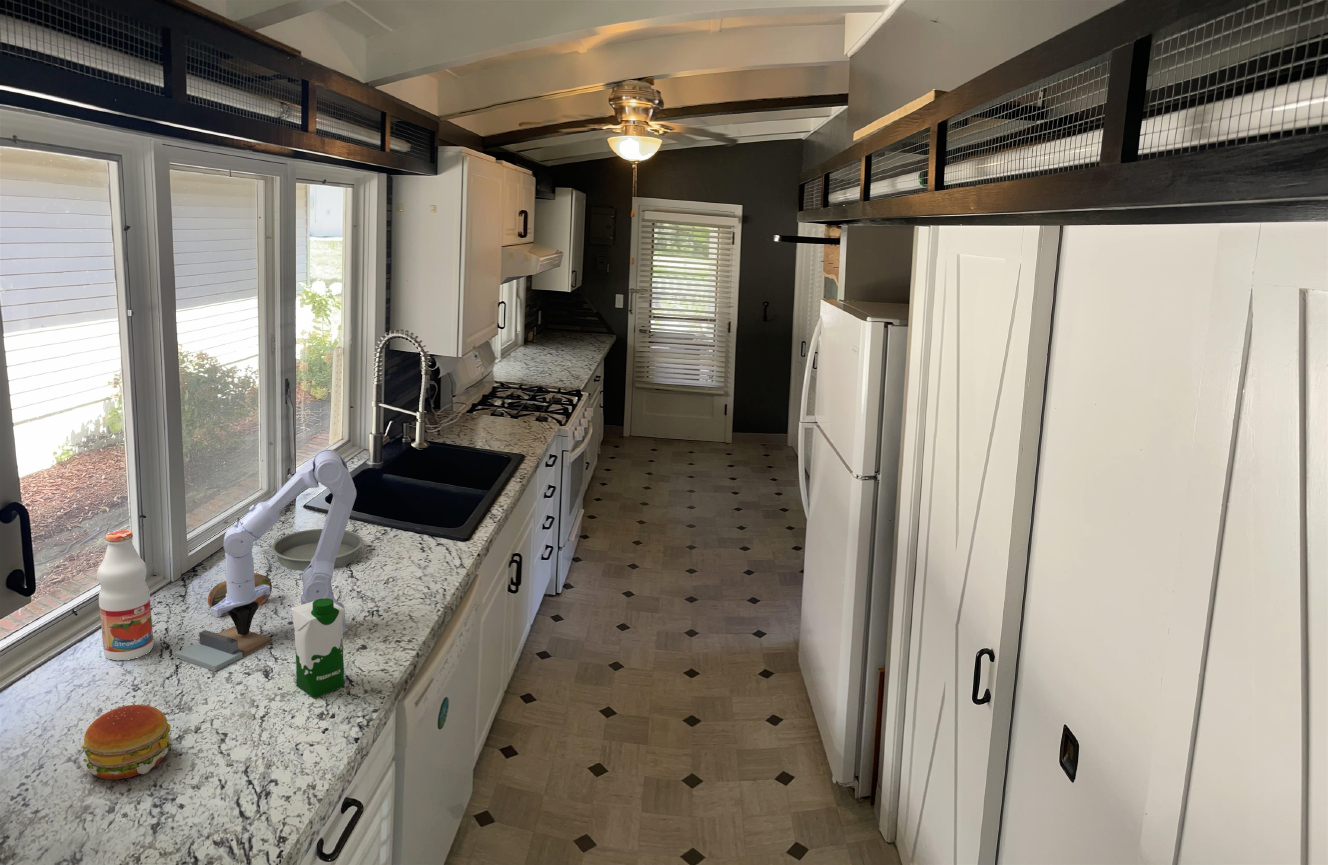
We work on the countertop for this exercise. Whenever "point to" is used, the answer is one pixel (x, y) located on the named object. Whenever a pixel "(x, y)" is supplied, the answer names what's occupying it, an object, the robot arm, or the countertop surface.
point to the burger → (126, 742)
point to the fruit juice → (124, 599)
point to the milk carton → (319, 646)
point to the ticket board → (247, 640)
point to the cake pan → (313, 548)
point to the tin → (221, 590)
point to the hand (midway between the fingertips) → (243, 633)
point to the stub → (211, 651)
